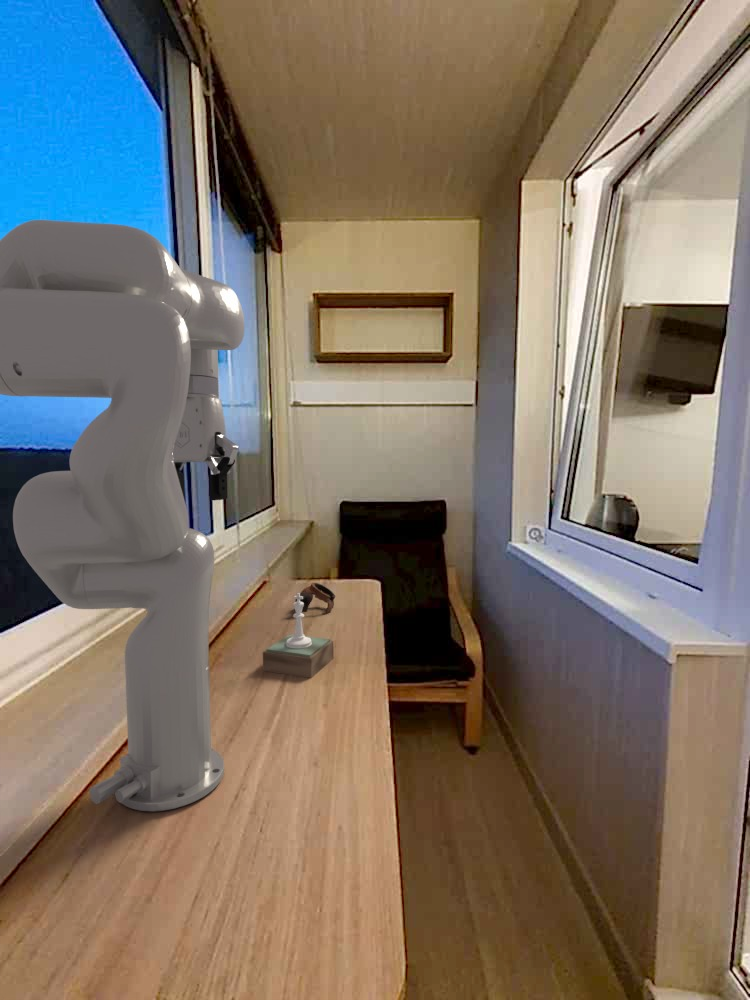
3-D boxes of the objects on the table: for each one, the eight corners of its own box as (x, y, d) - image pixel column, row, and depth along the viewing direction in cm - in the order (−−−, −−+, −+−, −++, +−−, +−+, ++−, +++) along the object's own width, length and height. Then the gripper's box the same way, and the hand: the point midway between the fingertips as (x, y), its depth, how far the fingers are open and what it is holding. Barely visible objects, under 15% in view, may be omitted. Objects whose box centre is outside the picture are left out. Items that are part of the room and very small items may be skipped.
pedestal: (311, 677, 98) (311, 656, 98) (263, 670, 102) (262, 649, 101) (333, 658, 108) (333, 638, 107) (288, 652, 111) (288, 633, 111)
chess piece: (307, 649, 101) (306, 597, 101) (282, 647, 102) (281, 595, 101) (315, 640, 106) (314, 590, 105) (291, 639, 107) (290, 589, 106)
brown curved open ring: (304, 606, 147) (319, 580, 147) (329, 626, 143) (345, 599, 143) (279, 605, 137) (295, 577, 136) (305, 627, 132) (322, 598, 132)
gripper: (137, 391, 87) (140, 498, 88) (216, 384, 78) (218, 502, 80) (175, 395, 93) (177, 495, 94) (251, 389, 85) (253, 499, 86)
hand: (196, 498), depth 87 cm, fingers open, 9 cm apart
